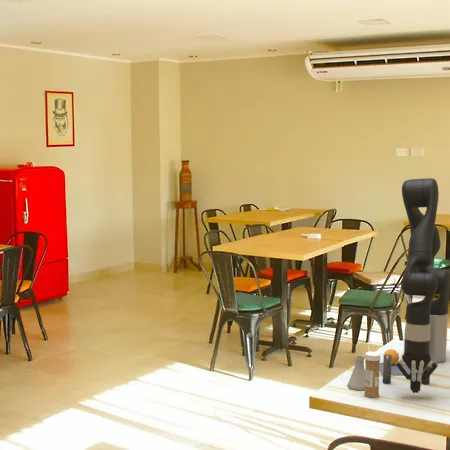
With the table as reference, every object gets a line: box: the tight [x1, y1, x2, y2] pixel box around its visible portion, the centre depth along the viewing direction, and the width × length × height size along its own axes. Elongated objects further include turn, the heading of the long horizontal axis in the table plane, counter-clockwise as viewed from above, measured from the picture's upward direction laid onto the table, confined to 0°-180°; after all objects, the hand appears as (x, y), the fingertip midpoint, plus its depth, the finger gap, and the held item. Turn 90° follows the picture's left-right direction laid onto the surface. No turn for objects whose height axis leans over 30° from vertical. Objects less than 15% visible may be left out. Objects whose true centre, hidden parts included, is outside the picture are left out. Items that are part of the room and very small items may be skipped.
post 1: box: [382, 354, 392, 385], centre depth 232 cm, size 3×3×9 cm
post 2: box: [421, 363, 431, 386], centre depth 231 cm, size 3×3×9 cm
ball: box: [383, 348, 400, 365], centre depth 251 cm, size 5×5×5 cm
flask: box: [346, 355, 365, 391], centre depth 227 cm, size 7×7×10 cm
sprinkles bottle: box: [364, 351, 381, 398], centre depth 219 cm, size 5×5×13 cm
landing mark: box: [379, 362, 416, 377], centre depth 246 cm, size 13×13×1 cm
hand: (415, 392), depth 219 cm, fingers closed
